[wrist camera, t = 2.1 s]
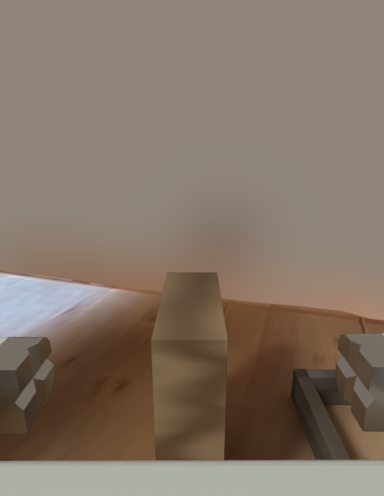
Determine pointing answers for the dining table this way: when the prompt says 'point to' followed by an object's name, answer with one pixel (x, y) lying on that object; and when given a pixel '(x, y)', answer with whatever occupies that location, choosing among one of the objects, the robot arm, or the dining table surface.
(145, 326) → the dining table surface
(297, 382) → the partly open shallow box
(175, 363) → the walnut plank
